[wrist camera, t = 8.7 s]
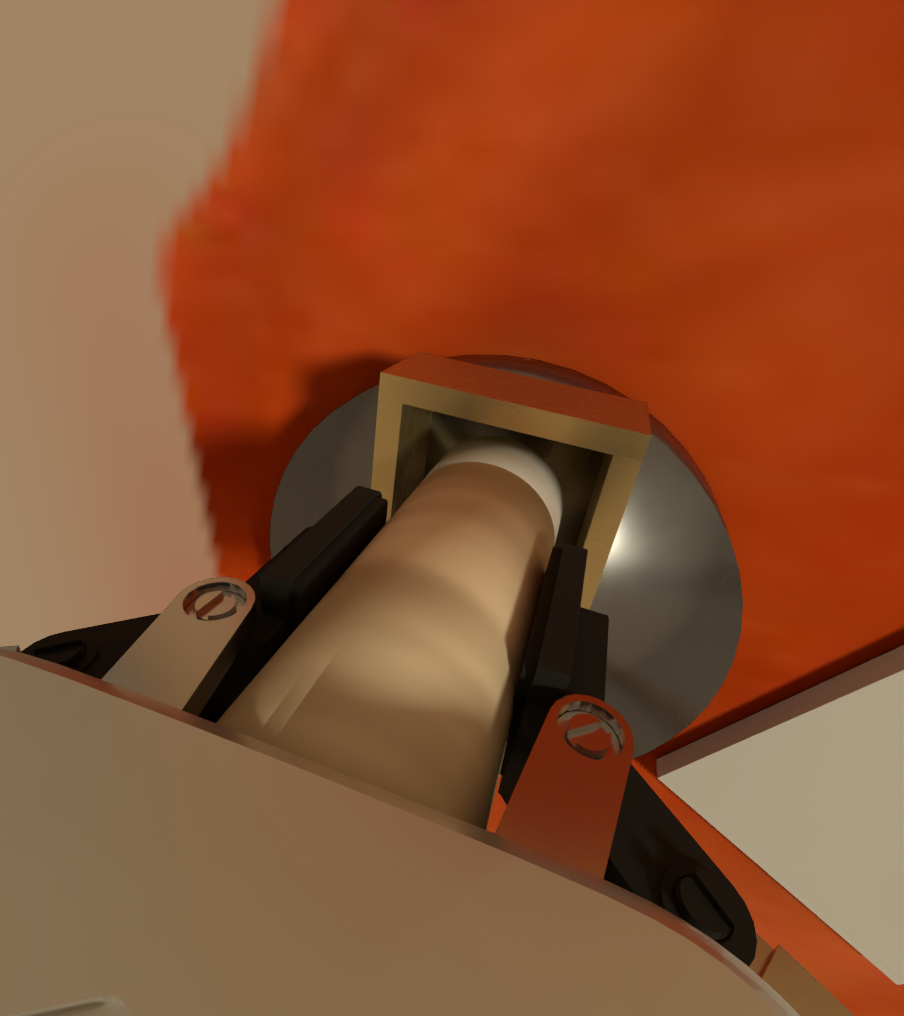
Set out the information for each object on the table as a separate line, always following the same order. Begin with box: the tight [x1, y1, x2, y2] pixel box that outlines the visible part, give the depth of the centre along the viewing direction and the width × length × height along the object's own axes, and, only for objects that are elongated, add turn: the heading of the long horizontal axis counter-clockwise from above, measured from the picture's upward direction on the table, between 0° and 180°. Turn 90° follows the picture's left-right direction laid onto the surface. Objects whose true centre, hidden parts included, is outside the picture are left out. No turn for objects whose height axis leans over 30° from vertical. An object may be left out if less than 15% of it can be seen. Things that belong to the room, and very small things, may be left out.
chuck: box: [270, 352, 743, 759], centre depth 19 cm, size 18×18×8 cm
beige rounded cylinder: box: [216, 436, 563, 830], centre depth 10 cm, size 4×4×12 cm
